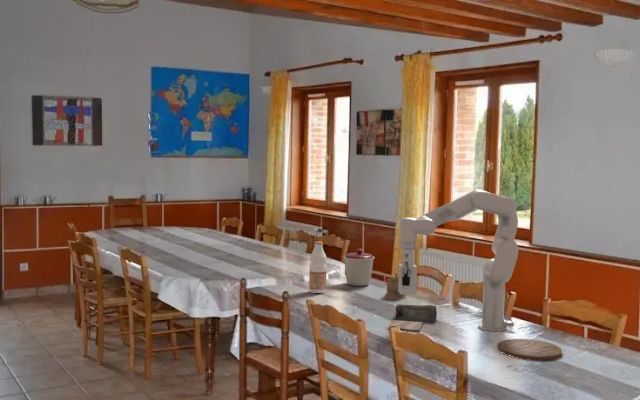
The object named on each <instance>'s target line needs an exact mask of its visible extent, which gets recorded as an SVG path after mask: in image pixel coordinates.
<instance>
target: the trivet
mask: <svg viewBox="0 0 640 400" xmlns="http://www.w3.org/2000/svg"><path fill="white" fill-rule="evenodd" d="M497 350H498V351H499V350H500V351H501V352H503V353H505V354H507V355H506V356H508V355H511V356H514V357H513V358H515V357H518V358H517V359H520V358H522V359H521V360H527V359H530V360H529V361H551V360H550V359H553V360H556V359H555V358H557V359H559V358H560V356H561V357H562V356H563V355H562V354H563V349H561V347H559V346H558V345H557V344H553V343H551V342H547V341H542V340H538V339H532V338H509V339H503V340H501V341H499V342H498V343H497ZM500 351H499V352H500ZM501 352H500V353H501ZM503 353H502V354H503ZM505 354H504V355H505ZM511 356H510V357H511ZM558 357H559V358H558Z"/></svg>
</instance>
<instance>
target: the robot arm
mask: <svg viewBox="0 0 640 400" xmlns="http://www.w3.org/2000/svg"><path fill="white" fill-rule="evenodd" d="M517 208H518V207H517V203H516V201H515V200H514V199H513V198H511V197H508V196H503V195H499V194H496V193H491V192H489V191H486V190H483V189H473V190H471V191H470V192H468V193H465V194H463V195H462V196H460V197H458V198H456V199H454V200H453V201H450V202H448V203H446V204H444V205H442V206H439V207H436V208H434V209H432V210H430V211H429V212H427V213H424V214H422V215H421V216H420V217H418V218H415V217H402V218H401V219H400V226H399V227H400V229H399V230H400V233H399V234H400V235H399V249H400V250H401V264H402V271H403V277H402V285H403V286H409V285H410V277H409V273H410V271H411V272H412V271H413V266H414V265H416V250H417V249H418V235H421V236H422V235H423V236H431V235H432V234H434V233H435V232H436V229H437V227H438V226H439V225H443V224H445V223H448V222H455V221H459V220H461V219H464V217H466V216H468V215H470V214H472V213H475V212H476V211H477V210H479V211H482V212H486V213H489V214H493V215H496V216H497V220H498V221H497V227H496V230H495V231H496V232H495V234H494V237H493V240H492V243H491V251H492V252H493V254H494V255H495V256H494V258H489V259H487V260H486V261H485V262H484V265H483V267H482V278H483V279H482V280H483V281H482V282H483V283H482V284H483V292H482V311H481V313H482V314H481V315H482V316H481V322H479V323H478V325H477V327H478V328H479V329H480V330H482V331H483V330H484V331H487V332H488V331H489V332H504V330H505V331H507V328H508V327H507V326H509V327H515V323H514V321H511V320H506V319H505V317H504V316H505V301H506V299H505V298H506V283H508V282H509V281H510V280H511V277H512V275H513V273H514V271H515V270H514V269H515V267H516V263H517V260H518V256H519V245H518V243H517V242H516V241H515V238H516V234H517V230H518V227H519V226H518V225H519V218H518V215H517ZM407 267H409V270H407ZM403 268H404V269H403Z"/></svg>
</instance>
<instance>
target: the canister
mask: <svg viewBox="0 0 640 400" xmlns="http://www.w3.org/2000/svg"><path fill="white" fill-rule="evenodd" d="M343 259H344V266H345V267H344V269H345V271H344V272H345V278H346V279H345V280H346V283H347V284H348V285H349V286H354V287H365V286H368V285H369V284H370V283H371V280H372V279H371V278H372V273H373V272H372V271H373V265H374V259H375V256H373V255H372V254H371V253H366V252H363V249H362V248H356V250H355V252H348V253H346V254H345V255H343Z"/></svg>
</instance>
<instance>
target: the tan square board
mask: <svg viewBox="0 0 640 400" xmlns="http://www.w3.org/2000/svg"><path fill="white" fill-rule="evenodd" d="M423 325H424V321H412V320H398V319H392V320H391V321H390V323H389V325H388V326H387V328H388V327H389V326H397V327H399V328H400V330H403V331H402V332H411V333H420V332H421V329H422V328H423Z"/></svg>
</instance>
